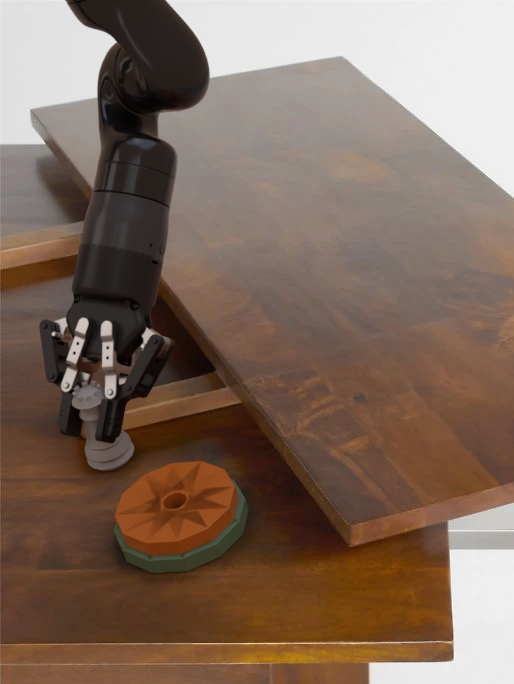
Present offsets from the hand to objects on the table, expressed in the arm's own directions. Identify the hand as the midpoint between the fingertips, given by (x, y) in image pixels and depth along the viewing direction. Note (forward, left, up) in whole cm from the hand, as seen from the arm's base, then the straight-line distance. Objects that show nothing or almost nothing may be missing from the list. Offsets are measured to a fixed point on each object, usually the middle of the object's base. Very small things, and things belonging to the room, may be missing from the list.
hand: (87, 438), depth 124 cm
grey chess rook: (+1, +2, -4) cm, 5 cm away
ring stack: (+10, -8, -4) cm, 13 cm away
